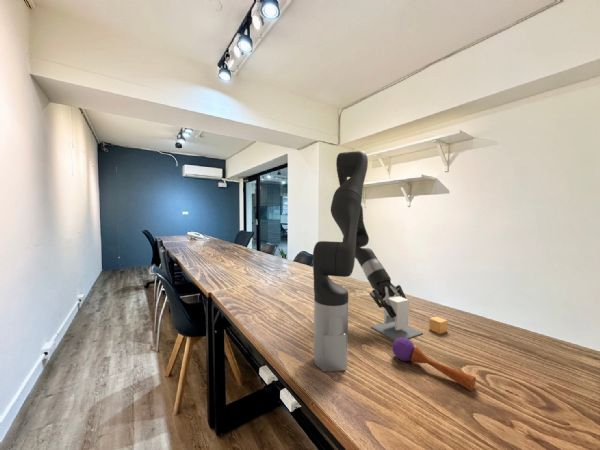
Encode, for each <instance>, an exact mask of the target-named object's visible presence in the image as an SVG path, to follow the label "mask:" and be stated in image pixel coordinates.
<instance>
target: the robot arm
mask: <svg viewBox="0 0 600 450" xmlns="http://www.w3.org/2000/svg"><path fill="white" fill-rule="evenodd" d="M335 160H336V161H335V162H336V163H335V164H336V172H337V173H336V174H337V178H338V182H339V184H338V185H339V187H338V188H336V190H335V192H334V194H333V197H332V201H331V205H330V213H331V216H332V218H333V220H334V222H335V223H336V225H337V226H338V228H339V231H340V232H341V234H342V236H343V237H342V241H329V240H328V241H326V240H320V241H317V242H316V243H315V245H314V248H313V252H312V273H313V293H314V303H313V306H314V307H313V308H314V309H313V310H314V311H313V362H314V364H315V366H316V367H318V368H319V369H321V371H322V372H323V373H324V372H338V371H339V372H340V371H346V370H347V366H348V358H349V357H348V356H349V355H348V353H349V351H348V346H349V345H348V344H349V341H348V340H349V339H348V338H349V337H348V336H349V332H348V331H349V292H348V290H347V289H346V288H345V287H343V286H341V285H339V284H338V283H335V281H333V280H332V279H330V277H339V278H340V277H341V278H348V277H350V276H351V275H352V274H353V270H354V267H355V262H356V260H357V262H358V264H359V266H360V267H361V269H362V271H363V273H364V276H365V277H366V279H367V281H368V283H369V284H370V286H371V288H372V291H371V292H370V293H369V295H370V297H371V298H372V300H374V302H375V303H376V304H377V306H378V307H379V308H383V309H384V308H385V309H386V311H387V312H388V314H389V316H390V317H391V318H394V317H396V313H395V312H394V310H393V308H392V306H391V305H390V303H389V301H388V299H389V297H390V296H395V295H396V296H400V297H403V298H405V299H407V296H406V295H405V293H404V290H403V288H402V287H401V285H399V284H398V285H394V284H393V283H392V282H391V280H392V279H391V277H390V275H389V274H388V272H387V271H386V268H385V267H384V266H383V264H382V263H381V262H380V260H379V259H378V257H377V256H376V254H375V252H374V251H373V249H371V248H369V247H366V246H367V245H368V244H369V240H370V239H369V235H368V234H369V233H368V232H367V230H366V225H365V223H364V209H363V205H362V199H363V192H364V190H363V188H364V184H365V179H366V176H367V171H368V166H369V163H368V162H369V159H368V156H367V153H366V152H365V151H363V150H355V151H354V150H353V151H347V152H343V151H342V152H339V153H338V154H337V156H336V159H335ZM329 276H330V277H329ZM385 301H386V302H385Z"/></svg>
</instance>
